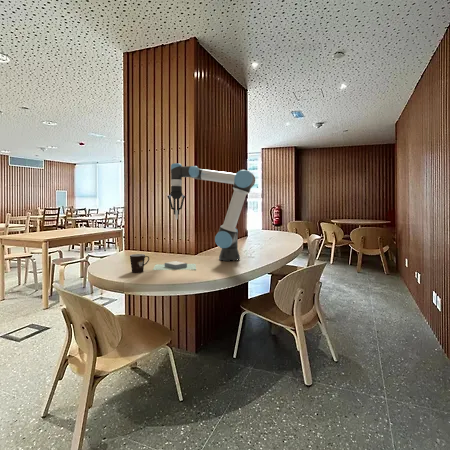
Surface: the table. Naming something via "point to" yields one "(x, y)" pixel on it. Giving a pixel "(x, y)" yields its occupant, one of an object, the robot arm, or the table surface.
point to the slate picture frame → (175, 265)
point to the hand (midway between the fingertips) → (176, 219)
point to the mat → (162, 267)
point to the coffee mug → (138, 262)
